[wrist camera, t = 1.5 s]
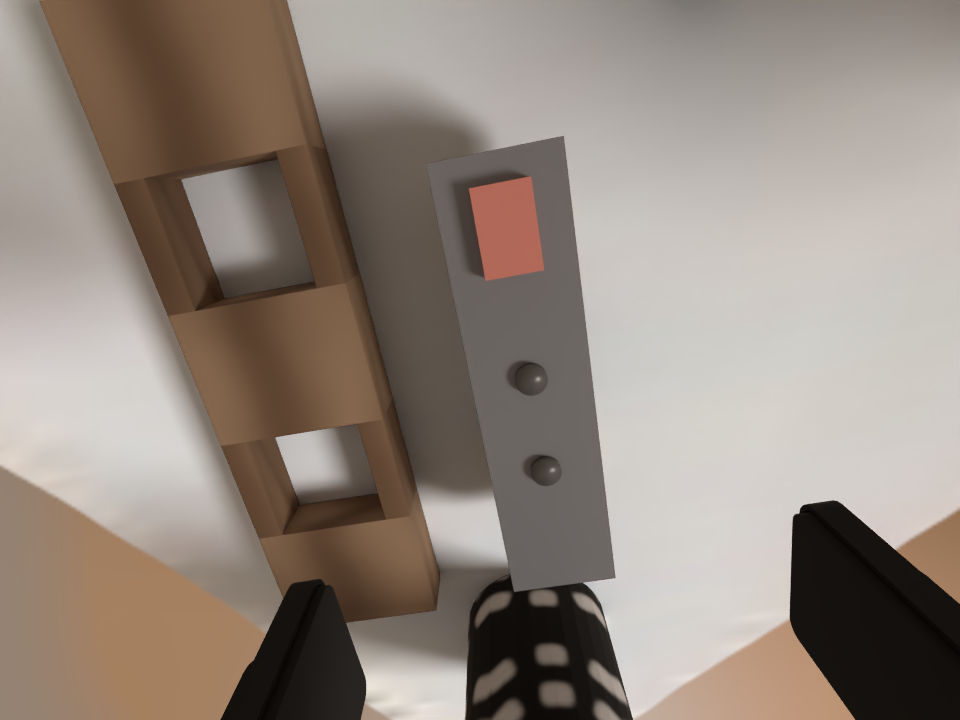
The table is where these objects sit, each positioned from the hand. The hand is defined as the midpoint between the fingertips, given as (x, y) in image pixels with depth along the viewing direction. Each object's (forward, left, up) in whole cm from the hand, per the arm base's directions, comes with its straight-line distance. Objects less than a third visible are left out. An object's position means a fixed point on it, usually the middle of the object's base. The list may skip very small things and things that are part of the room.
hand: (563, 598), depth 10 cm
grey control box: (0, 0, -15) cm, 15 cm away
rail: (+11, -2, -15) cm, 19 cm away
